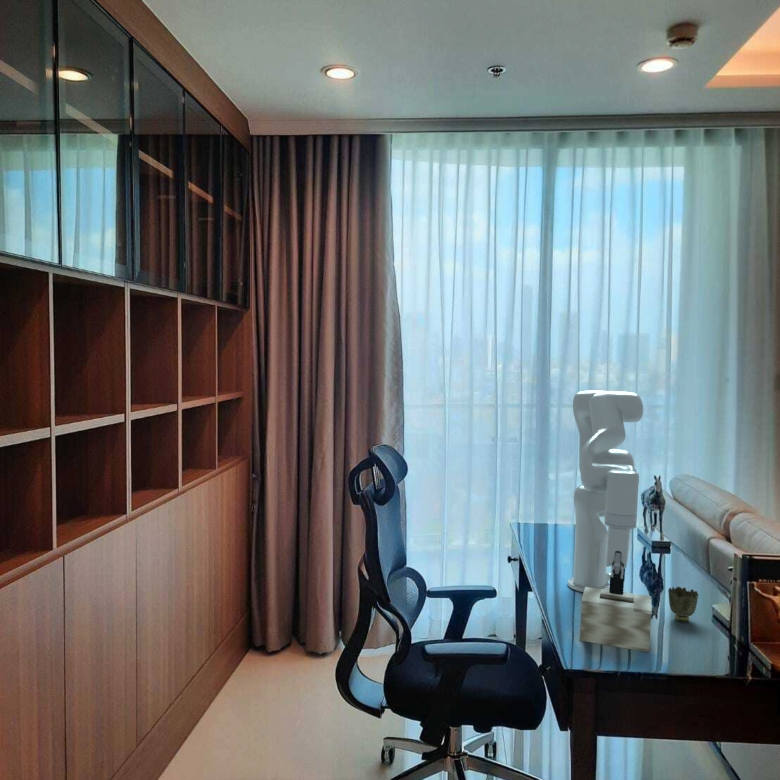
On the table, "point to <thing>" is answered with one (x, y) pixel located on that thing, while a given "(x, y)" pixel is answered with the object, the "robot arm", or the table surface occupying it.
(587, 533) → the robot arm
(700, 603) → the table surface
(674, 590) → the cup
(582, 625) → the box
